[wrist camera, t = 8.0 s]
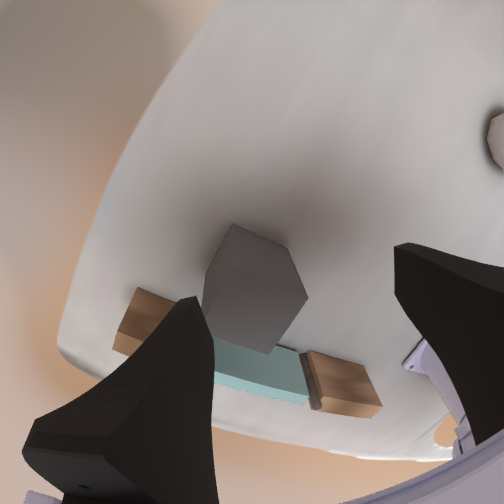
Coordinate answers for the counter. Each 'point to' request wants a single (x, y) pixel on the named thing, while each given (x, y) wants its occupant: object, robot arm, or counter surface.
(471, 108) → the counter surface
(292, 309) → the block
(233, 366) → the door
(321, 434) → the counter surface
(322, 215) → the counter surface
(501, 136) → the salt shaker
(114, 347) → the wall
